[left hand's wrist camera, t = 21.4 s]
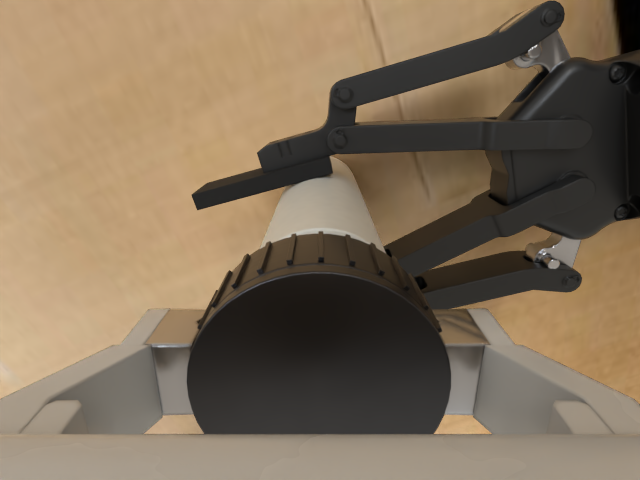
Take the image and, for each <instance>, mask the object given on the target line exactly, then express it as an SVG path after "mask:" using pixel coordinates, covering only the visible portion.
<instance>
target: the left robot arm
mask: <svg viewBox="0 0 640 480" xmlns="http://www.w3.org/2000/svg"><path fill="white" fill-rule="evenodd" d="M205 311H206V309H170V308H163V309H148V310H147V312H146V313H145V314H144V315H143V317H142V318H141V319H140V320H139V322H138V323H137V324H136V325H135V327H134V328H133V329H132V330H131V332H130V333H129V334H128V335H127V337H126V338H125V339H124V340H123V342H122V343H121V344H120V345H112V346H110V347H108V348H106V349H104V350H102V351H100V352H98V353H95V354H93V355H91V356H89V357H87V358H85V359H83V360H81V361H79V362H77V363H74V364H72V365H70V366H68V367H66V368H64V369H62V370H60V371H58V372H56V373H54V374H51V375H49V376H47V377H45V378H43V379H41V380H39V381H37V382H35V383H33V384H31V385H28V386H26V387H24V388H22V389H20V390H18V391H16V392H14V393H12V394H10V395H7V396H5V397H3V398H1V399H0V480H640V404H639V403H638V402H637V401H636V400H635V399H633V398H631V397H629V396H627V395H625V394H623V393H620V392H618V391H616V390H614V389H612V388H610V387H608V386H606V385H604V384H602V383H600V382H598V381H596V380H594V379H592V378H589V377H587V376H585V375H583V374H581V373H579V372H577V371H575V370H573V369H571V368H569V367H567V366H565V365H563V364H561V363H558V362H556V361H554V360H552V359H550V358H548V357H546V356H544V355H542V354H540V353H538V352H536V351H534V350H532V349H529V348H527V347H525V346H523V345H515V343H514V342H513V341H512V340H511V338H510V337H509V336H508V335H507V333H506V332H505V331H504V329H503V328H502V327H501V326H500V324H499V323H498V322H497V321H496V319H495V318H494V317H493V315H492V314H491V313H490V312H489V310H487V309H485V308H478V309H435V310H432V311H433V313H434V315H435V317H436V319H437V321H438V323H439V325H440V327H441V329H442V332H440V333H439V334H440V336H441V338H442V340H443V342H444V345H445V348H446V351H447V354H448V357H449V362H450V368H451V390H450V396H449V402H448V405H447V408H446V411H445V414H447V415H473V417H474V418H475V419H476V420H477V421H478V422H480V423H481V424H482V425H483V426H484V427H485V428H486V429H487V430H489V431H490V432H491V433H492V434H144V433H145V432H146V431H147V430H148V429H150V428H151V427H152V426H153V425H154V424H155V423H156V422H158V421H159V420H160V419H161V418H162V415H188V414H193V411H192V408H191V405H190V401H189V397H188V390H187V366H188V362H189V357H190V353H191V350H192V348H193V345H194V343H195V340H196V338H197V336H198V334H199V332H200V329H197V327H198V325H199V323H200V321H201V319H202V317H203V315H204V313H205Z"/></svg>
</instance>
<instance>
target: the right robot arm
mask: <svg viewBox="0 0 640 480" xmlns="http://www.w3.org/2000/svg"><path fill="white" fill-rule="evenodd" d="M564 14H565V13H564V9H563V7H562V5H561V4H560V3H558V2H556V1H547V2H545V3H543V4H540V5H537V6H535V7H533V8H530V9H528V10H526V11H524V12H521V13H519V14H517V15H515V16H514V17H512V18H511V19H510V20H508V21H507V22H505V23H504V24H503V25H501V26H500V27H499V28H497V29H496V30H494V31H493V32H492V33H490V34H489V35H487V36H486V37H483V38H480V39H476V40H473V41H470V42H466V43H463V44H460V45H456V46H453V47H450V48H446V49H443V50H440V51H436V52H433V53H430V54H426V55H423V56H419V57H416V58H413V59H409V60H406V61H403V62H399V63H396V64H393V65H389V66H386V67H383V68H379V69H376V70H373V71H369V72H366V73H363V74H359V75H356V76H353V77H349V78H346V79H343V80H340V81H338V82H336V83H335V84H334V85H333V86H332V88H331V90H330V97H329V108H328V117H327V120H326V122H325V123H324V124H323V126H321V127H320V128H318V129H316V130H312V131H309V132H305V133H302V134H298V135H294V136H291V137H287V138H284V139H280V140H277V141H273V142H270V143H269V144H267V145H266V146H265V147H263V148H262V149H261V150H260V151H259V152H258V153H257V154H258V157H259V160H260V164H261V167H262V168H260V169H256V170H253V171H249V172H245V173H242V174H238V175H234V176H231V177H227V178H224V179H220V180H216V181H213V182H209V183H207V184H205V185H204V186H203V187H201V188H200V189H199V190H197V191H196V192H195V193H193V194H192V198H193V200H194V203H195V205H196V208H197V210H200V209H204V208H207V207H211V206H215V205H218V204H222V203H226V202H229V201H233V200H237V199H240V198H244V197H248V196H251V195H255V194H259V193H263V192H266V191H270V190H274V189H277V188H281V187H285V186H288V185H292V184H296V183H299V182H303V181H307V180H310V179H314V178H318V177H322V176H325V175H329V174H333V170H332V164H331V160H330V156H331V155H335V154H360V153H390V152H420V151H450V150H485V152H486V156H487V158H488V160H489V163H490V165H491V167H492V172H491V180H490V190H488V191H486V192H484V193H482V194H480V195H478V196H476V197H475V198H473V199H472V201H471V203H469V204H468V205H466V206H464V207H462V208H460V209H458V210H456V211H454V212H452V213H450V214H448V215H446V216H444V217H442V218H440V219H438V220H436V221H434V222H432V223H430V224H428V225H426V226H424V227H422V228H420V229H418V230H416V231H414V232H412V233H410V234H408V235H406V236H404V237H402V238H400V239H398V240H396V241H394V242H392V243H390V244H388V245H386V246H384V250H385V252H386V254H387V255H388V256H390V257H392V256H394V257H396V258H397V260H398V263H399V265H400V266H401V267H402V268H403V269H404V270H405V271H406V272H407V274H410V273H411V274H412V275H413V276H414V278H415V280H416V282H417V284H418V286H419V288H420V290H421V292H422V293H424V295H425V297H426V299H427V301H428V303H429V305H430V307H431V309H432V310H435V309H451V308H455V307H460V306H464V305H469V304H473V303H477V302H482V301H486V300H490V299H495V298H499V297H503V296H508V295H512V294H516V293H521V292H525V291H530V290H544V291H556V292H572V291H574V290H576V289H577V288H578V287H579V286H580V284H581V281H582V277H581V275H580V274H579V273H578V272H577V271H576V270H574V269H573V268H572V267H573V264H574V261H575V258H576V255H577V251H578V248H579V245H580V242H581V240H582V239H586V238H589V237H591V236H593V235H595V234H596V233H597V232H599V231H600V230H601V229H603V228H604V227H606V226H607V225H609V224H611V223H613V222H616V221H621V220H629V219H636V218H640V50H636V51H633V52H629V53H625V54H622V55H618V56H615V57H611V58H608V59H604V60H600V61H592V60H588V59H585V58H580V57H574V58H570V56H569V53H568V51H567V49H566V47H565V45H564V43H563V41H562V39H561V36H560V34H559V32H558V30H557V29H558V28H559V27H560V26H561V24H562V22H563V20H564ZM502 63H505V64H506V66H507V67H509V68H510V69H523V68H528V67H534V68H535V69H537V71H538V72H539V73H538V74H537V75H536V76H535V77H534V78H533V79H532V80H531V81H530V83H529V84H528V85H527V86H526V87H525V88H524V89H523V90H522V91H521V92H520V94H519V95H518V96H517V97H516V98H515V99H514V100H513V101H512V102H511V103H510V105H509V106H508V107H507V108H506V109H505V110H504V111H503V112H502V113H501V114H500V116H499V117H479V118H464V119H438V120H409V121H380V122H355V117H356V107H357V106H359V105H363V104H366V103H370V102H373V101H377V100H380V99H383V98H387V97H390V96H394V95H397V94H401V93H404V92H407V91H411V90H414V89H418V88H421V87H425V86H428V85H431V84H435V83H438V82H442V81H445V80H449V79H452V78H455V77H459V76H462V75H466V74H469V73H473V72H476V71H479V70H483V69H486V68H490V67H493V66H497V65H499V64H502ZM533 225H534V226H537V227H540V228H542V229H545V230H547V231H550V232H552V234H551V236H550V237H549V238H548V239H546V240H545V241H542V242H537V243H530V244H528V245H527V246H526V248H525V250H526V251H509V252H504V253H499V254H494V255H490V256H486V257H482V258H478V259H474V260H469V261H465V262H461V263H457V264H453V265H448V266H444V267H440V268H436V269H432V270H429V269H431V268H434V267H436V266H438V265H440V264H442V263H444V262H446V261H448V260H450V259H452V258H454V257H457V256H459V255H461V254H463V253H465V252H467V251H469V250H471V249H473V248H475V247H477V246H479V245H482V244H484V243H486V242H488V241H490V240H492V239H494V238H497V237H508V236H512V235H514V234H516V233H518V232H520V231H523V230H525V229H527V228H529V227H531V226H533ZM427 270H428V271H427Z"/></svg>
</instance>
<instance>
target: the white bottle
mask: <svg viewBox="0 0 640 480" xmlns="http://www.w3.org/2000/svg"><path fill="white" fill-rule="evenodd" d="M330 160H331V164H332V170H333V174H329V175H325V176H322V177H318V178H314V179H310V180H307V181H303V182H299V183H296V184H292V185H288V186H285V188H284V190H283V193H282V195H281V198H280V200H279V202H278V205H277V207H276V210H275V212H274V215H273V217H272V220H271V222H270V224H269V227H268V229H267V232H266V234H265V237H264V239H263V241H262V244H261V246H260V249H261V248H263V247H265V245H266V243H267V242H269V241H271V243H273V242H276V241H279V240H281V239H284V238H288V237H291V235H292V234H295V233H296V235H304V234H318V232H319V231H323V234H334V235H341V236H345V235H346V234H348V235H350V237H351V238H353V239H357V240H360V241H362V242H365V243H367V244H370V243H374V244H375V245H376V248H377V249H379V250H381V251H382V252H384V253H386V252H385V250H384V247H383V245H382V242H381V240H380V238H379V235H378V233H377V230H376V228H375V225H374V223H373V221H372V218H371V216H370V213H369V211H368V209H367V206H366V204H365V201H364V199H363V197H362V194H361V192H360V189H359V187H358V184H357V182H356V180H355V177H354V175H353V173H352V171H351V170H350V169H349V167H348V166H347V165H346V164H345V163H343V162H342V161H341V160H339V159H337V158H335V157H332V156H330Z"/></svg>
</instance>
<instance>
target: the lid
mask: <svg viewBox="0 0 640 480" xmlns="http://www.w3.org/2000/svg"><path fill="white" fill-rule="evenodd" d="M197 329H200V332H199V334H198V336H197V338H196V340H195V343H194V345H193V348H192V350H191V353H190V357H189V362H188V366H187V390H188V397H189V401H190V405H191V408H192V411H193V414H194V416H195V418H196V420H197V423H198V424H199V426H200V428H201V429H202V431H203V432H204V434H434V432H435V431H436V429H437V428H438V426H439V424H440V422H441V420H442V418H443V416H444V414H445V411H446V408H447V405H448V402H449V396H450V390H451V368H450V362H449V357H448V354H447V351H446V348H445V345H444V342H443V340H442V338H441V336H440V334H439V333H440V332H442V329H441V327H440V325H439V323H438V321H437V319H436V317H435V315H434V313H433V311H432V309H431V307H430V305H429V303H428V301H427V299H426V297H425V295H424V293H422V292H421V290H420V288H419V286H418V284H417V282H416V280H415V278H414V276H413V275H412V274H411V273H410V274H407V272H406V271H405V270H404V269H403V268H402V267H401V266H400V265H399V263H398V260H397V258H396V257H394V256H392V257H390V256H388V255H387V254H386V253H384V252H382V251H381V250H379V249H377V248H376V245H375V244H374V243H370V244H367V243H365V242H362V241H360V240H357V239H353V238H351V237H350V235H348V234H346V235H345V236H341V235H334V234H323V231H319V232H318V234H304V235H296V233H295V234H292V235H291V237H288V238H284V239H281V240H279V241H276V242H273V243H271V241H269V242H267V243H266V245H265V247H263V248H261V249H259V250H257V251H256V252H254V253H253V254H251V255H250V256H249V254H246V255H245V256H244V258H243V260H242V262H241V263H240V264H239V265H238V266H237V267H236V268H235V269H234V271H233V272H231V271H230V270H229V271H228V273H227V274H226V276H225V278H224V280H223V282H222V284H221V286H220V288H219V290H216V292H215V294H214V296H213V298H212V300H211V301H210V303H209V305H208V307H207V309H206V311H205V313H204V315H203V317H202V319H201V321H200V323H199V325H198V327H197Z"/></svg>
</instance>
